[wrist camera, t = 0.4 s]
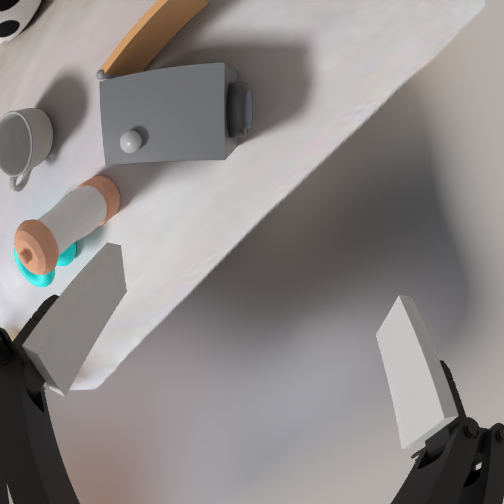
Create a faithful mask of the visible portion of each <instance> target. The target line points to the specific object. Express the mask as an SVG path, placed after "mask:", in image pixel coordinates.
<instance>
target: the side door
mask: <svg viewBox="0 0 504 504" xmlns="http://www.w3.org/2000/svg"><path fill="white" fill-rule="evenodd" d="M208 4H209V3H208V2H207V0H158V1H157V2H156V3H155V4H154V5H153V6H152V7H151V8H150V9H149V10H148V11H147V12H146V13H145V14H144V16H143V17H142V18H141V19H140V20H139V21H138V22H137V23H136V24H135V26H134V27H133V28H132V29H131V30H130V31H129V32H128V34H127V35H126V36H125V37H124V38H123V40H122V41H121V42H120V43H119V45H118V46H117V47H116V48H115V50H114V51H113V52H112V54H111V55H110V56H109V58H108V59H107V60H106V62H105V63H104V64H103V66H102V67H101V69H100V70H99V71H98V72H97V74H96V77H97V79H112V78H116V77H121V76H125V75H130V74H134V73H139V72H142V71H143V70H144V69H145V68H146V67H147V65H148V64H149V63H150V62H151V61H152V60H153V58H154V57H155V56H156V55H157V54H158V53H159V52H160V51H161V49H162V48H163V47H164V46H165V45H166V44H167V43H168V42H169V41H170V40H171V39H172V38H173V37H174V36H175V35H176V34H177V33H178V32H179V31H180V30H181V29H182V28H183V27H184V26H185V25H186V24H187V23H188V22H189V21H190V20H191V19H192V18H193V17H194V16H195V15H196V14H197V13H198V12H200V11H201V10H202V9H203V8H204V7H205V6H206V5H208Z"/></svg>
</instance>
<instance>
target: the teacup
mask: <svg viewBox="0 0 504 504" xmlns="http://www.w3.org/2000/svg"><path fill="white" fill-rule="evenodd" d="M52 142H53V128H52V124H51V121H50V119H49V117H48V116H47V115H46V113H45V112H43V111H42V110H40V109H36V108H28V109H22V110H18V111H10V112H8V113H6V114H5V115H4V116H3V117H2V118H1V120H0V168H1V169H2V171H3V172H4V173H6V174H7V175H9V176H11V177H10V182H9V185H10V188H11V189H12V190H13V191H16V192H18V191H21V190H22V189H23V188H24V187H25V186H26V184H27V182H28V179H29V176H30V173H31V170H32V169H33V168H34V167H36V166H37V165H39V164H40V163H41V162H43V161H44V160H45V158H46V157H47V156H48V154H49V152H50V149H51V146H52ZM23 173H24V175H23V177H22V180H21V181H20V183H19V184H18V185H17V186H16V180H17V178H18V176H20V175H22V174H23Z"/></svg>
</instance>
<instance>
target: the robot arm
mask: <svg viewBox="0 0 504 504" xmlns="http://www.w3.org/2000/svg"><path fill="white" fill-rule="evenodd" d="M126 292H127V290H126V283H125V276H124V268H123V260H122V251H121V245H116V244H112V243H106V244H105V245H104V247H103V248H102V249H101V250H100V251H99V252H98V253H97V254H96V255H95V256H94V257H93V258H92V259H91V260H90V262H89V263H88V264H87V265H86V266H85V267H84V268H83V269H82V270H81V272H80V273H79V274H78V275H77V276H76V277H75V278H74V280H73V281H72V282H71V283H70V284H69V285H68V287H67V288H66V289H65V290H64V291H63V293H62V294H61V295H60V296H57V295H52V296H51V297H49V298H48V299H46V300H45V301H44V302H43V303H42V304H41V306H40V307H39V308H38V310H37V311H36V312H35V313H34V314H33V316H32V318H30V319H29V321H28V322H27V323H26V325H25V326H24V327H23V329H22V330H21V331H20V333H19V334H18V335H17V337H16V338H15V339H14V341H13V342H12V340H11V339H10V337H9V335H8V333H7V332H6V331H5V329H2V328H0V504H9V498H8V490H7V484H8V488H9V491H10V494H11V497H12V500H13V503H14V504H80V503H79V501H78V499H77V496H76V494H75V492H74V489H73V487H72V485H71V483H70V480H69V477H68V475H67V472H66V469H65V467H64V464H63V461H62V458H61V455H60V452H59V449H58V445H57V442H56V438H55V435H54V431H53V428H52V424H51V420H50V416H49V411H48V407H47V403H46V397H45V392H44V389H43V385H44V383H45V382H46V383H47V385H48V386H49V388H50V389H51V390H53V391H55V392H57V393H59V394H61V395H63V396H66V395H67V393H68V391H69V389H70V387H71V385H72V383H73V381H74V379H75V377H76V376H77V374H78V372H79V370H80V368H81V366H82V365H83V363H84V361H85V359H86V357H87V356H88V354H89V352H90V350H91V349H92V347H93V345H94V343H95V342H96V340H97V338H98V337H99V335H100V333H101V332H102V330H103V328H104V327H105V325H106V323H107V322H108V320H109V318H110V317H111V315H112V314H113V312H114V310H115V309H116V307H117V306H118V304H119V303H120V301H121V299H122V298H123V296H124V295H125V293H126ZM376 337H377V341H378V344H379V348H380V352H381V355H382V359H383V363H384V367H385V371H386V374H387V379H388V382H389V387H390V391H391V395H392V400H393V405H394V410H395V414H396V419H397V424H398V429H399V435H400V441H401V447H402V449H408V448H414V447H417V446H419V445H420V444H422V443H423V442H424V441H425V443H426V447H424V448H423V449H421V450H419V451H418V452H416V453H415V454H414V455H412V457H411V458H415V457H416V456H418V455H419V457H418V458H417V459H416V460H415V461H416V462H415V464H414V466H413V468H412V470H411V471H410V473H409V475H408V477H407V478H406V480H405V482H404V484H403V485H402V487H401V488H400V490H399V492H398V493H397V495H396V496H395V498H394V500H393V501H392V503H391V504H502V503H503V498H504V425H503V424H501V423H496V424H495V425H494V426H492V427H491V428H490V429H486V428H480V427H479V426H478V423H477V422H476V421H475V420H474V419H472V418H470V417H466V414H465V411H464V409H463V405H462V402H461V399H460V397H459V394H458V391H457V389H456V385H455V383H454V381H453V377H452V374H451V372H450V369H449V368H448V367H447V365H446V364H445V363H444V361H439V358H438V356H437V353H436V351H435V348H434V346H433V344H432V341H431V339H430V337H429V334H428V332H427V330H426V328H425V325H424V323H423V321H422V319H421V317H420V315H419V312H418V310H417V308H416V306H415V304H414V302H413V300H412V298H411V297H406V296H398V298H397V300H396V302H395V303H394V305H393V307H392V309H391V310H390V312H389V314H388V316H387V317H386V319H385V321H384V323H383V324H382V326H381V327H380V329H379V331H378V332H377V334H376ZM481 462H482V465H481V468H480V469H478V470H476V465H477V464H479V463H481Z"/></svg>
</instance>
